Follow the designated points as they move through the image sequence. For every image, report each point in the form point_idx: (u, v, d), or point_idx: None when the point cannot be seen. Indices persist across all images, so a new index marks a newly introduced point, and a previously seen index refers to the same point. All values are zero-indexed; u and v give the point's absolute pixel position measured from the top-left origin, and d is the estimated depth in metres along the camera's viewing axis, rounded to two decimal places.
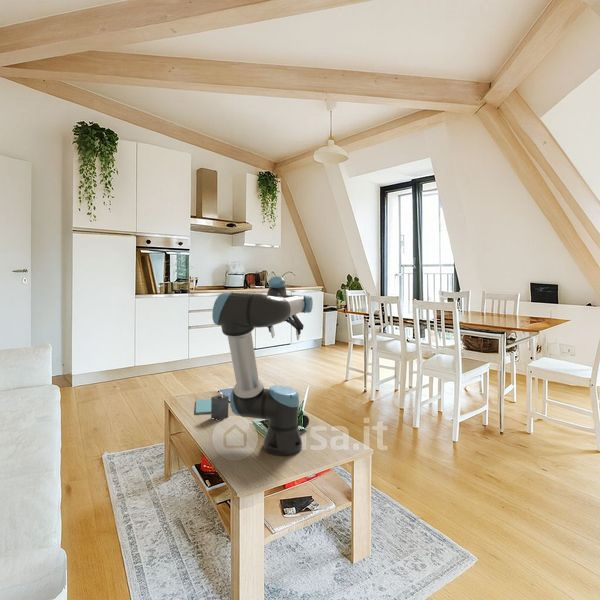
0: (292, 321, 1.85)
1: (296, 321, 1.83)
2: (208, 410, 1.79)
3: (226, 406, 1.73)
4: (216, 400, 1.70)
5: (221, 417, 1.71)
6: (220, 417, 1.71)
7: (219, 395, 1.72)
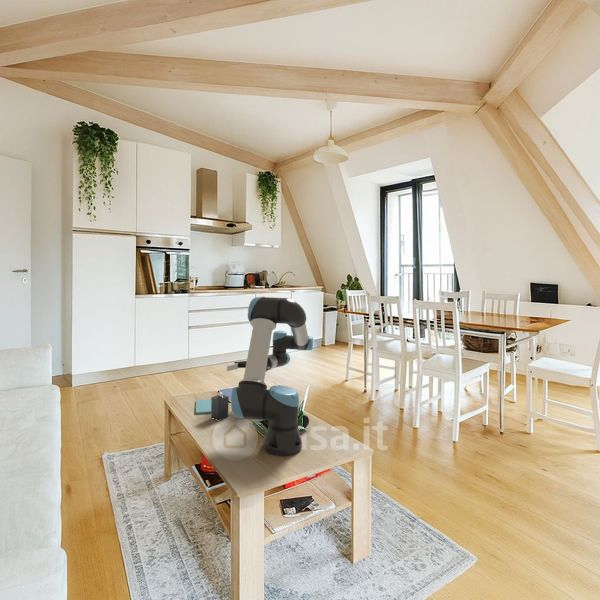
0: None
1: (265, 366, 1.85)
2: (208, 410, 1.79)
3: (226, 406, 1.73)
4: (216, 400, 1.70)
5: (221, 417, 1.71)
6: (220, 417, 1.71)
7: (219, 395, 1.72)
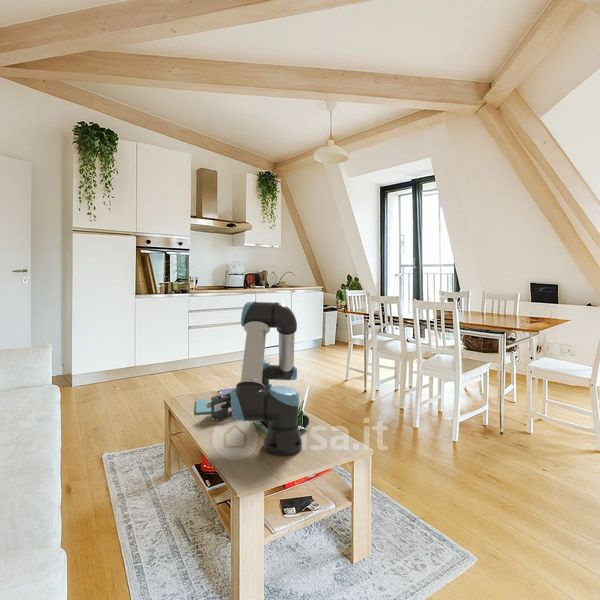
0: None
1: None
2: (208, 410, 1.79)
3: None
4: (216, 400, 1.70)
5: (221, 417, 1.71)
6: (220, 417, 1.71)
7: (219, 395, 1.72)
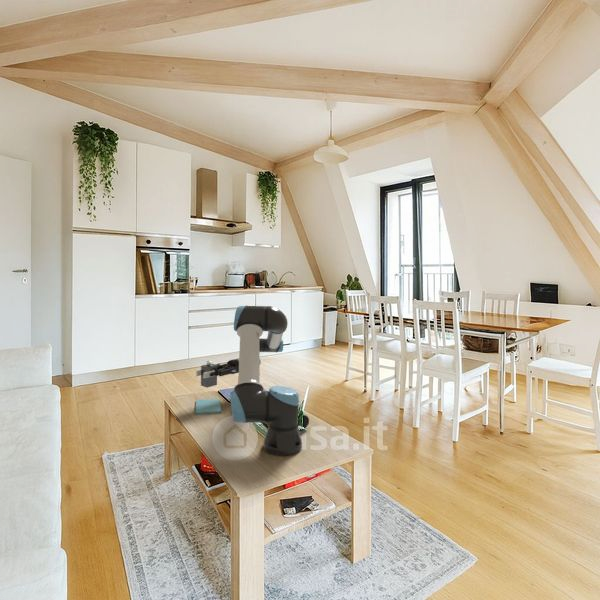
0: None
1: (228, 369, 1.87)
2: (208, 410, 1.79)
3: None
4: (205, 368, 1.81)
5: (210, 384, 1.83)
6: (209, 384, 1.82)
7: (208, 364, 1.83)
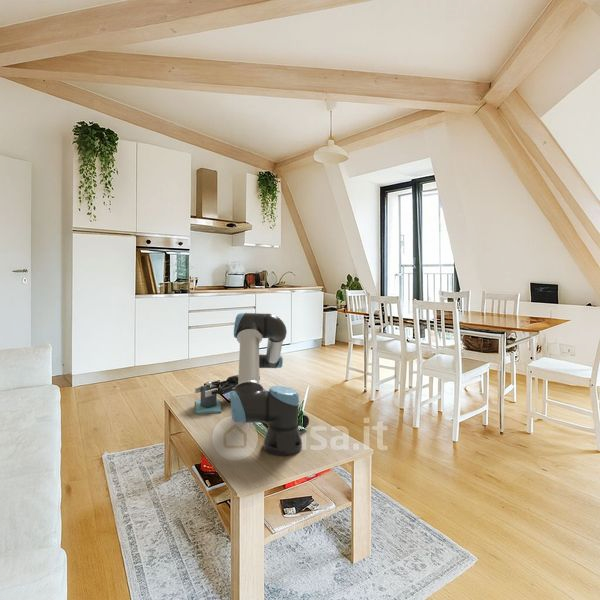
0: None
1: (229, 387, 1.88)
2: (208, 410, 1.79)
3: (214, 395, 1.85)
4: (205, 389, 1.82)
5: (210, 405, 1.83)
6: (209, 405, 1.83)
7: (208, 384, 1.84)
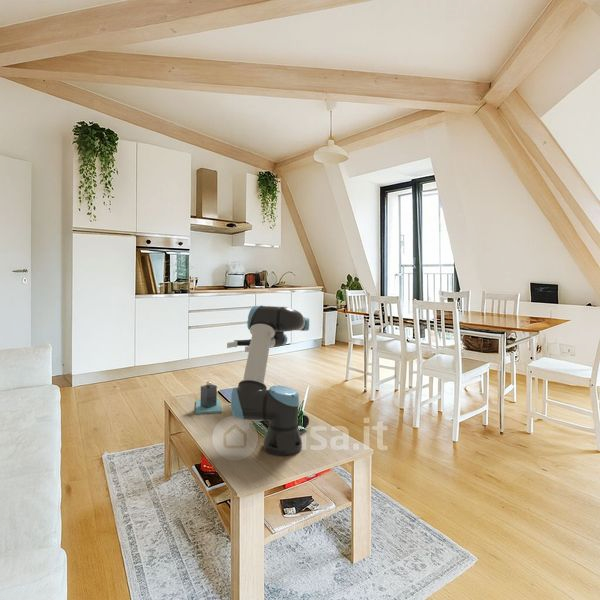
0: None
1: None
2: (208, 410, 1.79)
3: (214, 395, 1.85)
4: (205, 389, 1.82)
5: (210, 405, 1.83)
6: (209, 405, 1.83)
7: (208, 384, 1.84)
